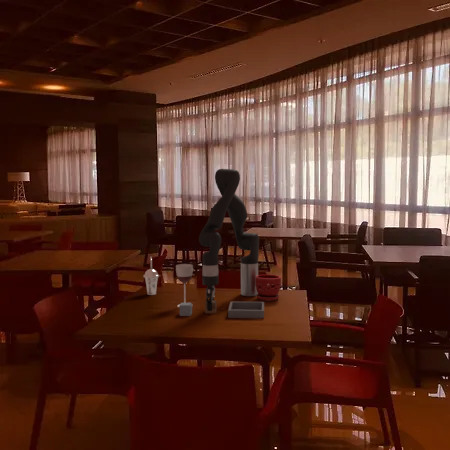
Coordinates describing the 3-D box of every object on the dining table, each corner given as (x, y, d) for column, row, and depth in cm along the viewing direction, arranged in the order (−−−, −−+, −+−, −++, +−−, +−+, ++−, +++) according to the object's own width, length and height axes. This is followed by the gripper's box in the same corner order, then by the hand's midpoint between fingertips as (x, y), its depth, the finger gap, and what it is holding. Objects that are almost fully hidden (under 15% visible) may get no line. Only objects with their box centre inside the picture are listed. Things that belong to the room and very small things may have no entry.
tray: (230, 308, 247) (230, 301, 246) (264, 309, 245) (264, 302, 245) (228, 317, 231) (228, 310, 230) (263, 318, 229) (263, 310, 229)
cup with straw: (141, 295, 276) (140, 258, 274) (148, 291, 285) (147, 256, 283) (155, 296, 274) (154, 259, 272) (162, 292, 282) (161, 256, 280)
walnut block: (206, 310, 244) (205, 300, 244) (216, 310, 244) (216, 300, 243) (204, 313, 239) (204, 302, 239) (215, 313, 239) (215, 303, 238)
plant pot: (282, 301, 259) (282, 278, 258) (256, 301, 260) (255, 278, 259) (279, 295, 272) (279, 273, 271) (255, 295, 273) (254, 273, 272)
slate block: (181, 313, 240) (181, 302, 240) (192, 313, 240) (191, 302, 239) (179, 315, 235) (179, 305, 235) (190, 316, 235) (190, 305, 234)
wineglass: (173, 306, 252) (172, 266, 250) (182, 302, 259) (182, 263, 257) (187, 308, 248) (186, 267, 246) (196, 304, 255) (195, 264, 254)
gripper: (216, 277, 232) (217, 312, 234) (219, 271, 246) (219, 304, 248) (200, 277, 233) (200, 312, 234) (204, 271, 247) (204, 304, 248)
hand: (210, 308), depth 241 cm, fingers open, 8 cm apart
